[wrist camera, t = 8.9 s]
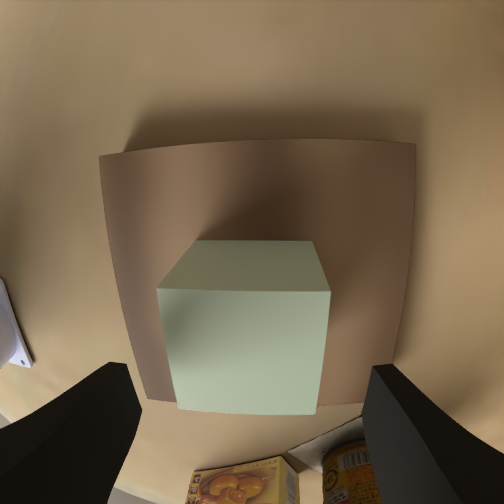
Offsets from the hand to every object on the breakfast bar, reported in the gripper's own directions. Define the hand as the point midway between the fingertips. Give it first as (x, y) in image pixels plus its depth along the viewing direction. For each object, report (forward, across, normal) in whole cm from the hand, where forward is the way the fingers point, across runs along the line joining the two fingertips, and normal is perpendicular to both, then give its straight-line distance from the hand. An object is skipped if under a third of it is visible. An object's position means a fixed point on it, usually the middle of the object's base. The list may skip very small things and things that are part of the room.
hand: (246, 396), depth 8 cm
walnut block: (+9, 0, 0) cm, 9 cm away
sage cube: (+6, 0, 0) cm, 6 cm away
